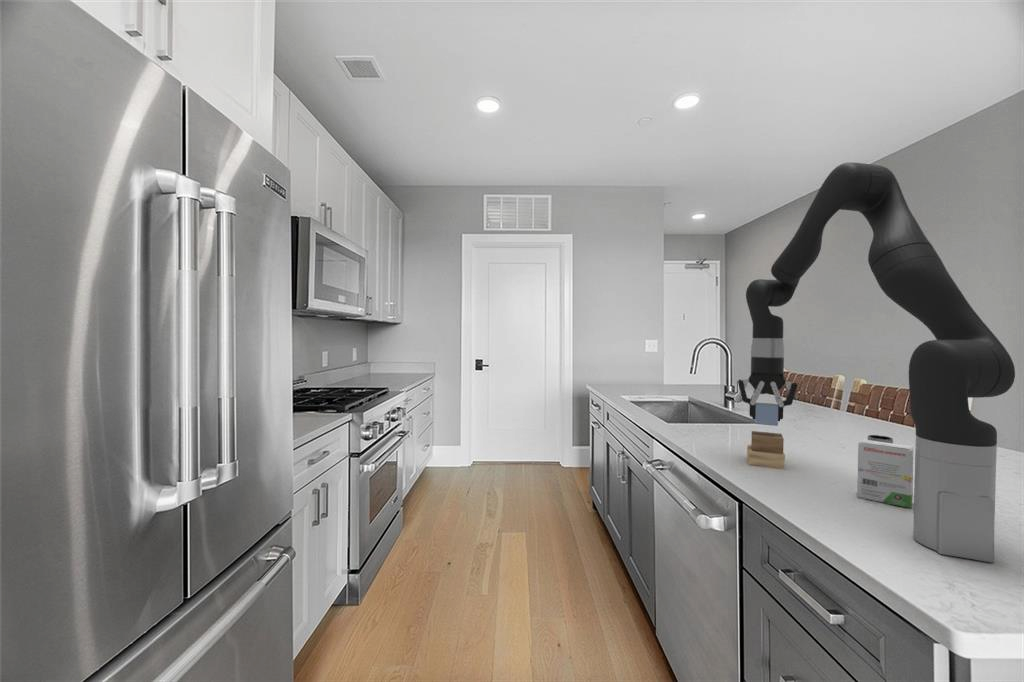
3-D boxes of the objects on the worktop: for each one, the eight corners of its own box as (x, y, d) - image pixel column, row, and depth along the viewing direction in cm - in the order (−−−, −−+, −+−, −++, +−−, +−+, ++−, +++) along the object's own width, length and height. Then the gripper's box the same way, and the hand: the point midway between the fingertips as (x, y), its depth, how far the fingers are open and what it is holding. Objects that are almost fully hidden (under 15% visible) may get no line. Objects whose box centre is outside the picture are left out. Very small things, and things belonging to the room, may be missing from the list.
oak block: (784, 470, 112) (784, 455, 112) (748, 466, 116) (749, 451, 116) (780, 462, 120) (781, 447, 119) (747, 458, 123) (747, 444, 123)
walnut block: (783, 454, 113) (783, 438, 112) (751, 451, 116) (752, 435, 116) (781, 448, 119) (781, 433, 119) (751, 445, 122) (751, 430, 122)
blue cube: (777, 425, 114) (778, 406, 114) (755, 424, 116) (756, 405, 116) (775, 422, 119) (776, 403, 118) (754, 420, 121) (754, 402, 121)
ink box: (913, 502, 90) (914, 445, 90) (911, 509, 87) (912, 449, 87) (860, 491, 97) (861, 437, 96) (856, 497, 93) (857, 441, 93)
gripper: (737, 355, 117) (736, 419, 117) (801, 357, 111) (800, 425, 111) (736, 354, 123) (735, 415, 124) (797, 355, 117) (795, 419, 118)
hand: (766, 419), depth 117 cm, fingers closed on blue cube, 5 cm apart
